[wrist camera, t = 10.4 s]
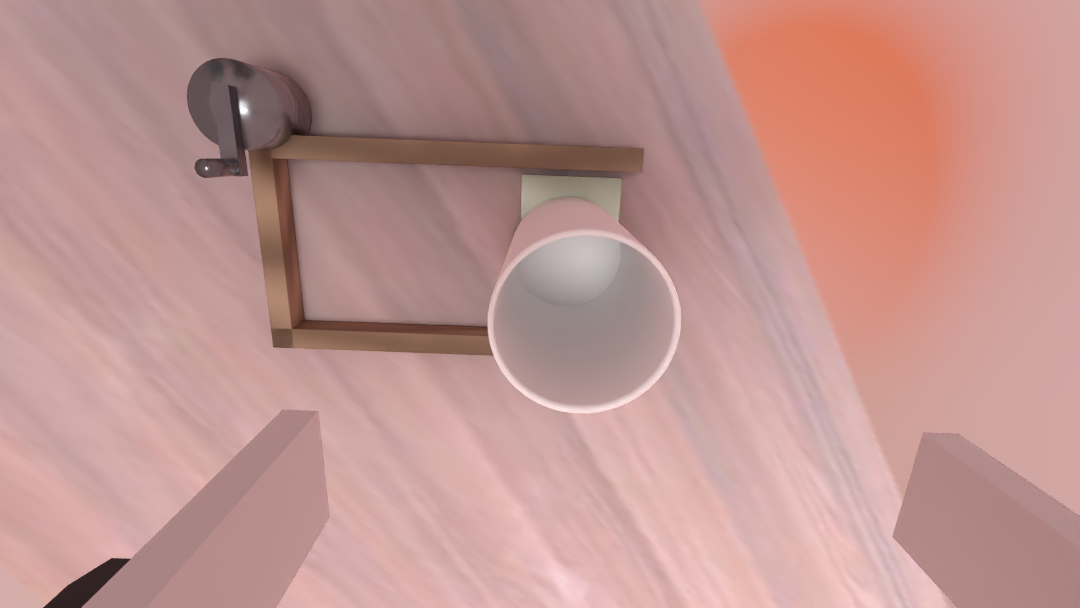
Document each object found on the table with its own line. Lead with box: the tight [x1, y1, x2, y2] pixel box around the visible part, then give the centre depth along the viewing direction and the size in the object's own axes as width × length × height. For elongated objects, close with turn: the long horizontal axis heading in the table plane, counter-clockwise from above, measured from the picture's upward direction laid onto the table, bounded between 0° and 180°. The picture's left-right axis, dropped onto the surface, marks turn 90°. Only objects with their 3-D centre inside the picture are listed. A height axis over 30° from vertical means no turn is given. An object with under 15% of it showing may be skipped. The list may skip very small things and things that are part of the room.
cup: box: [488, 197, 681, 413], centre depth 28 cm, size 8×8×16 cm
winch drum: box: [187, 58, 311, 178], centre depth 30 cm, size 6×5×8 cm
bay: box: [248, 135, 644, 355], centre depth 36 cm, size 15×26×2 cm, turn 88°
